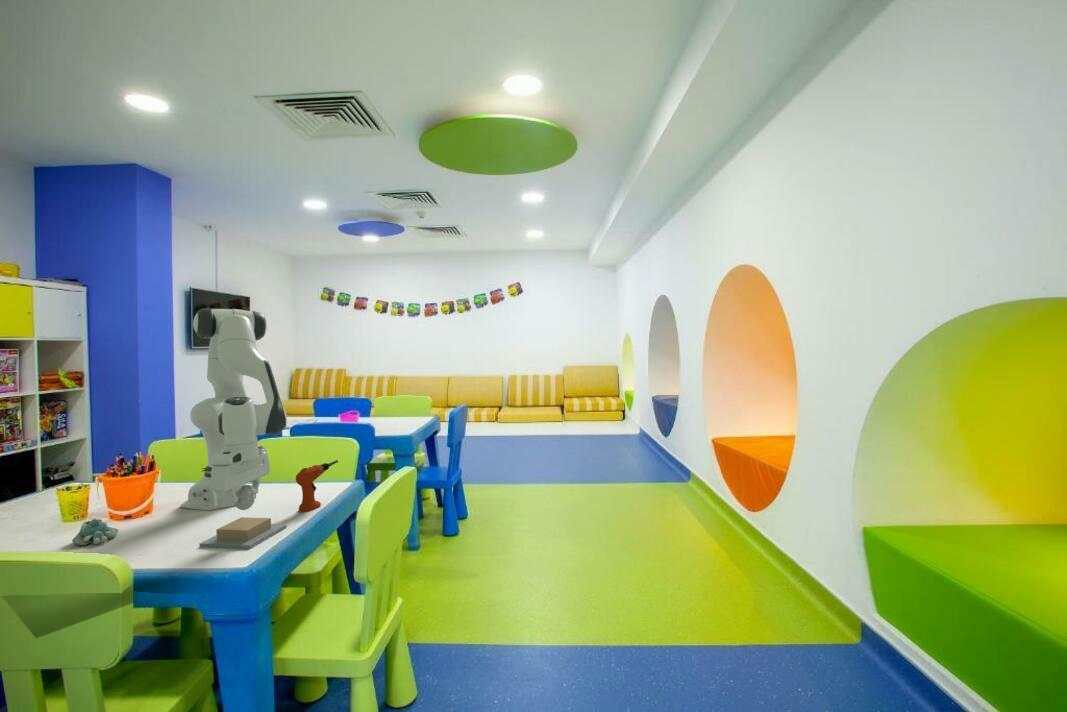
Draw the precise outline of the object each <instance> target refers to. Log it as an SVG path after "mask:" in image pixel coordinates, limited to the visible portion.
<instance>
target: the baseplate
mask: <svg viewBox="0 0 1067 712" xmlns="http://www.w3.org/2000/svg"><path fill="white" fill-rule="evenodd" d="M271 520H272V517H239V518H238V519H235V520H233V521H231V522H229V523H227V524H225V525H223V526H221V527H219V528H217V529H216V535H213V536H212V537H210V538H208V539H206V540H204V541H202V542H200V543H199V548H215V549H216V548H217V549H219V548H220V549H238V548H240V550H241V548H243V549H244V550H247V549H248V550H251V549H253V548H254V547H256V546H257V544H258V545H260V544H262V541H263V542H264V540H265V541H266V540H268V539H270V538H272V537H273V536H275V535H277V534H278V533H280V532H282V531H283V530H285V529H287V528H286V527H287V524H285V523H284V524H281V523H277V524H276V523H272V521H271ZM269 537H270V538H269ZM255 545H256V546H255ZM252 547H253V548H252ZM250 548H251V549H250Z"/></svg>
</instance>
